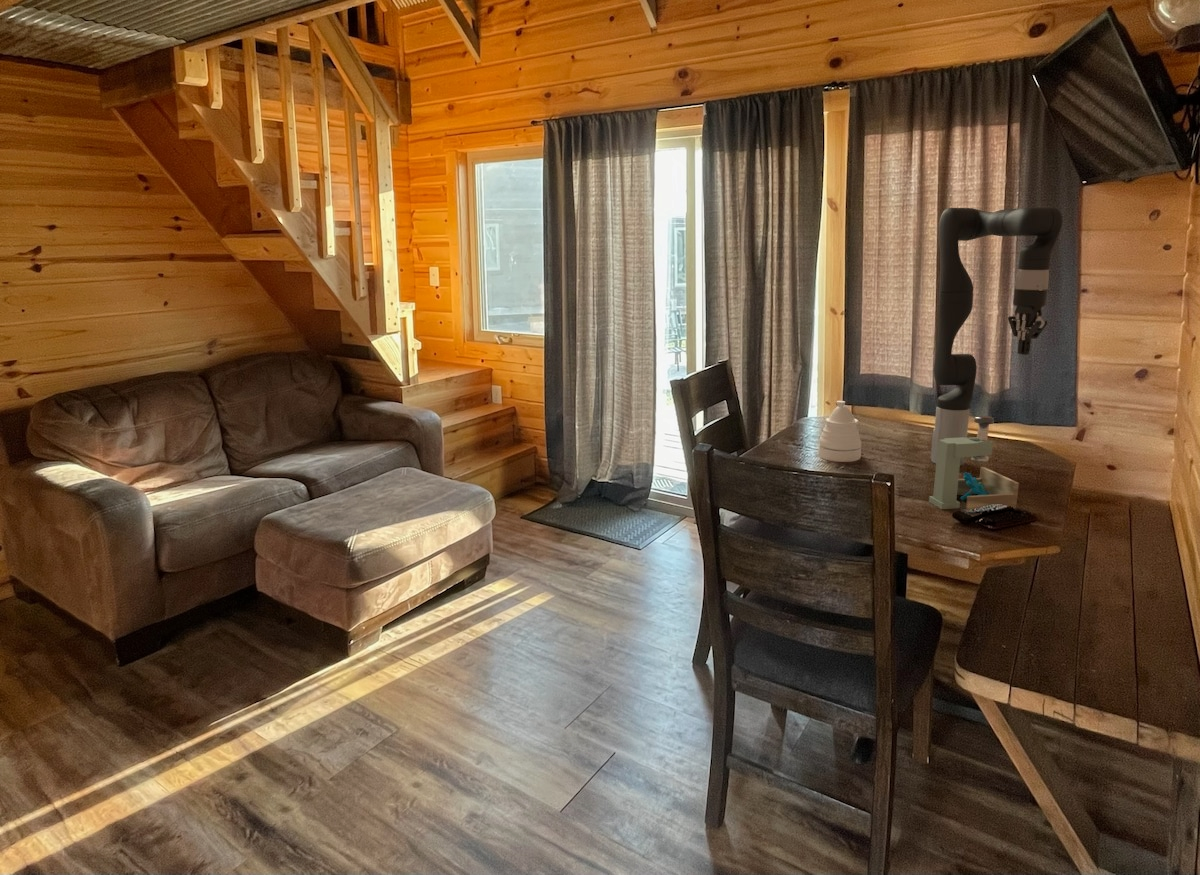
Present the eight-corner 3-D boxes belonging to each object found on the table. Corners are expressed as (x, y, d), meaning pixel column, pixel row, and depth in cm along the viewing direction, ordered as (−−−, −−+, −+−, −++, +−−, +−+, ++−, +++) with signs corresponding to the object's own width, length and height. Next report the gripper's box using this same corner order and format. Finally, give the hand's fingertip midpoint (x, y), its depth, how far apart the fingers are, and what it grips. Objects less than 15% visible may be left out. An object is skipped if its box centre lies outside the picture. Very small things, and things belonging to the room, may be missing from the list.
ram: (966, 458, 207) (971, 416, 205) (982, 457, 208) (987, 415, 205) (976, 462, 203) (981, 419, 200) (992, 462, 204) (997, 419, 201)
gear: (990, 504, 202) (964, 472, 205) (970, 517, 205) (944, 485, 208) (998, 498, 211) (972, 468, 214) (978, 511, 214) (954, 481, 217)
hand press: (928, 501, 210) (934, 438, 206) (973, 498, 212) (980, 436, 207) (941, 509, 204) (947, 444, 200) (987, 506, 206) (994, 442, 202)
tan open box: (936, 494, 214) (938, 469, 213) (981, 491, 216) (984, 467, 214) (968, 512, 201) (970, 485, 199) (1015, 509, 202) (1018, 482, 201)
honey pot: (853, 464, 245) (857, 406, 240) (812, 458, 252) (815, 402, 247) (865, 454, 255) (869, 398, 251) (825, 449, 262) (828, 394, 258)
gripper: (1001, 286, 213) (994, 351, 217) (1034, 289, 200) (1026, 358, 204) (1027, 285, 214) (1020, 350, 218) (1062, 288, 201) (1053, 357, 205)
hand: (1023, 354), depth 211 cm, fingers closed
